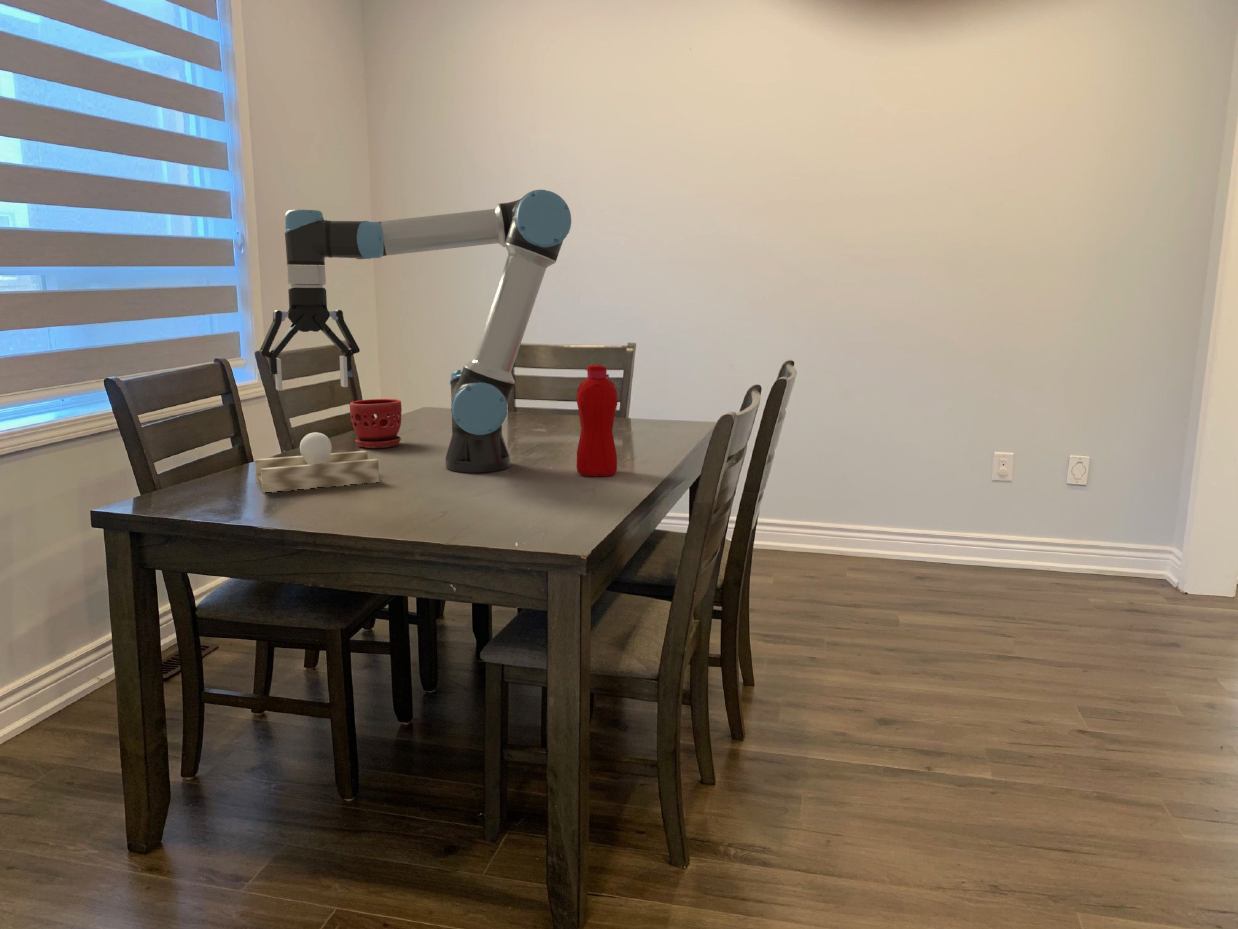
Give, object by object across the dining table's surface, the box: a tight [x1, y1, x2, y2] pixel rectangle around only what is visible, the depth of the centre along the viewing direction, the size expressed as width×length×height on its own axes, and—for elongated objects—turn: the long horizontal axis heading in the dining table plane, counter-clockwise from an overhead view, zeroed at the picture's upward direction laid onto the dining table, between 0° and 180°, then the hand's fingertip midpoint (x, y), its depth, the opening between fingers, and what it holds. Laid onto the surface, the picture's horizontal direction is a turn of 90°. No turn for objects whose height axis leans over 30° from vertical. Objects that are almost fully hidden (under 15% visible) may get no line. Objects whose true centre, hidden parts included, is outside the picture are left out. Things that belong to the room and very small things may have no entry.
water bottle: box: [576, 363, 626, 477], centre depth 216 cm, size 9×11×25 cm
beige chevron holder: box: [254, 450, 380, 494], centre depth 207 cm, size 24×12×5 cm, turn 117°
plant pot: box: [349, 398, 403, 449], centre depth 249 cm, size 13×13×12 cm
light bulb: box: [299, 432, 333, 464], centre depth 206 cm, size 7×7×11 cm
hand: (312, 388), depth 202 cm, fingers open, 13 cm apart
